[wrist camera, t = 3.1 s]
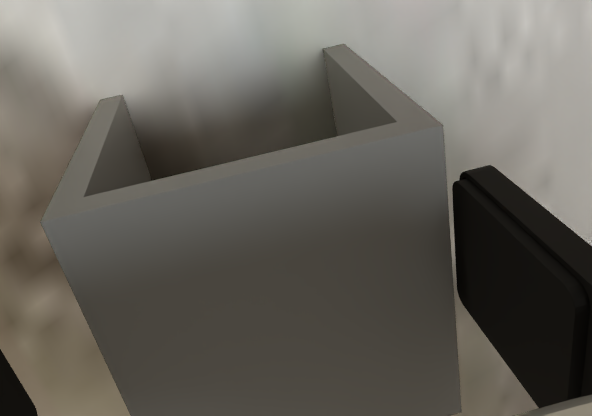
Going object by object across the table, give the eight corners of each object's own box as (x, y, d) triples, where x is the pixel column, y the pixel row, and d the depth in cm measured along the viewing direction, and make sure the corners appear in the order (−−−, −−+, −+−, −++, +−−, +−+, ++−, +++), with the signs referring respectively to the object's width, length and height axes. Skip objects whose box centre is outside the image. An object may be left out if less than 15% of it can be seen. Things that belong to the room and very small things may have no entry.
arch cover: (343, 43, 16) (442, 125, 10) (373, 252, 19) (461, 412, 13) (100, 99, 15) (40, 222, 9) (174, 302, 19) (167, 492, 12)
